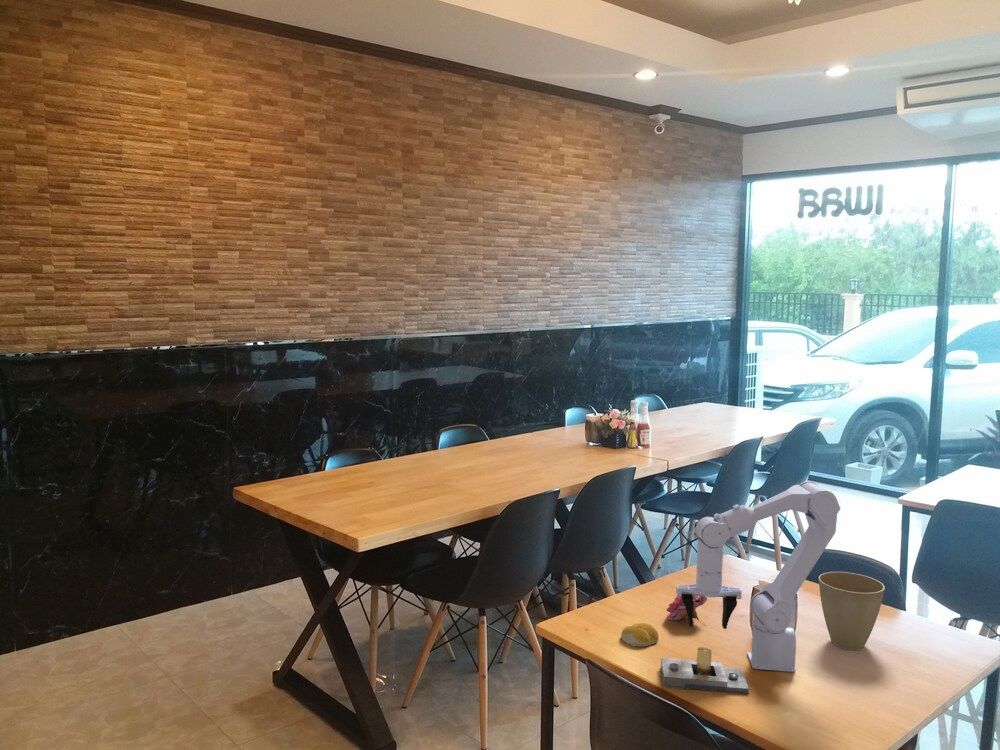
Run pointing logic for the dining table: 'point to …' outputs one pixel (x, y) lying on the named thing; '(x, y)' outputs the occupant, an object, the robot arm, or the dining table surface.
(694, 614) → the flower
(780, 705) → the dining table surface
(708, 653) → the brass pin
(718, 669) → the grey plate with knobs
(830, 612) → the plant pot
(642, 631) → the bread roll
